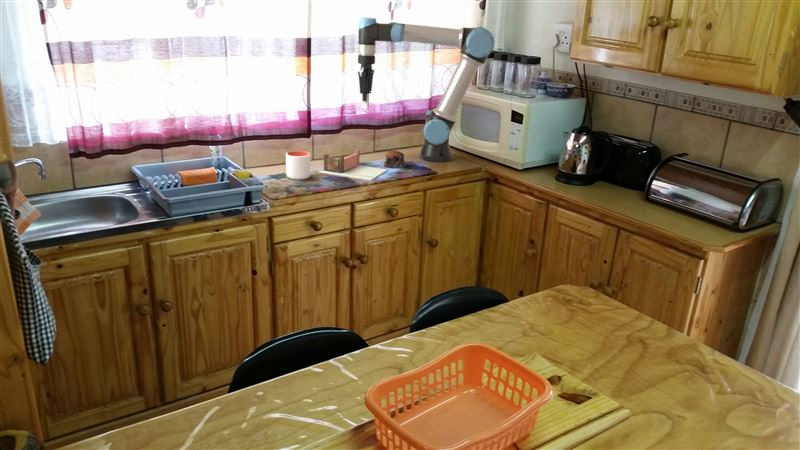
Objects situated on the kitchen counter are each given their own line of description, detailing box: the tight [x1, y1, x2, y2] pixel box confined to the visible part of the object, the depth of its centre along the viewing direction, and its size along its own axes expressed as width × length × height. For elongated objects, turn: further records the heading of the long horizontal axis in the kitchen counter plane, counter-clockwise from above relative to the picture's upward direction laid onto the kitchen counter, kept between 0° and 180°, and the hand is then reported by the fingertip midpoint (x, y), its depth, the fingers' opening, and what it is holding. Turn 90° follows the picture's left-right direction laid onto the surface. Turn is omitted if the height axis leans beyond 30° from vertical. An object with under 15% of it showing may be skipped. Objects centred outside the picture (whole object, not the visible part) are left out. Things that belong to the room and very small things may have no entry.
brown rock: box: [383, 149, 405, 169], centre depth 290 cm, size 12×10×8 cm
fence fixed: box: [323, 153, 345, 173], centre depth 274 cm, size 9×2×8 cm, turn 69°
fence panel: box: [344, 149, 361, 171], centre depth 280 cm, size 13×2×7 cm, turn 154°
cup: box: [285, 150, 312, 181], centre depth 265 cm, size 10×10×10 cm
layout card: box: [317, 164, 388, 182], centre depth 278 cm, size 24×19×1 cm
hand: (365, 108), depth 289 cm, fingers closed
